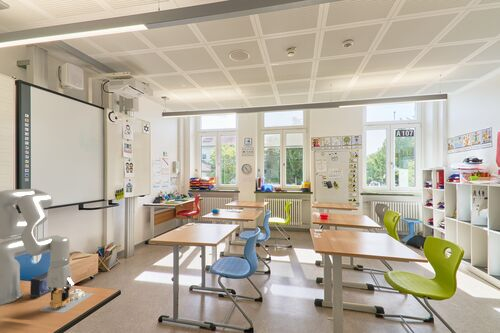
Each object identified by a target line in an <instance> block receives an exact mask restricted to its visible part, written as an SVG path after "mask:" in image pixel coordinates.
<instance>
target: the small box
mask: <svg viewBox="0 0 500 333" xmlns="http://www.w3.org/2000/svg"><path fill="white" fill-rule="evenodd" d="M47 274H48V271H47V272H44V273H42V274H39V275H36V276H34V277H31V278H30V292H29V294H30V295H29V296H30V297H29V298H32V299H39V298H41V297H43V296H45V295H47V294H49V293H51V292H50V289H49V288H48V286H47V285H46V283H47Z"/></svg>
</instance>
